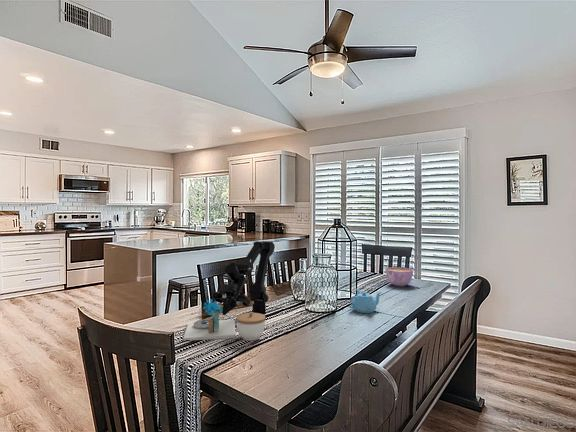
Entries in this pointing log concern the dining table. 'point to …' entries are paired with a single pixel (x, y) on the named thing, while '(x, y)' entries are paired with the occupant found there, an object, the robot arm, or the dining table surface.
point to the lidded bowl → (250, 325)
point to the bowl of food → (399, 275)
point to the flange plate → (204, 323)
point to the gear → (212, 307)
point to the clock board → (204, 332)
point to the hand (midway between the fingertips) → (223, 314)
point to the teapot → (364, 302)
